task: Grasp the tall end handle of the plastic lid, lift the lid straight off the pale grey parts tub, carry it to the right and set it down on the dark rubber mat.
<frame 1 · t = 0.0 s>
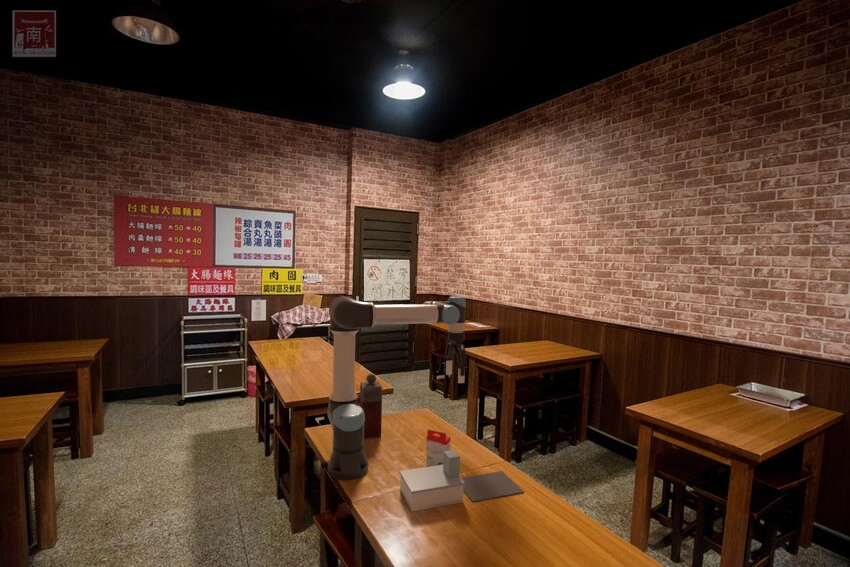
hand: (454, 378, 186), 28 cm above the table, fingers open, 13 cm apart
mat: (488, 486, 150), on the table
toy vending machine: (369, 433, 193), on the table
lid: (431, 479, 142), point 6 cm above the table, touching tub
ink box: (437, 466, 164), on the table
tub: (430, 496, 142), on the table
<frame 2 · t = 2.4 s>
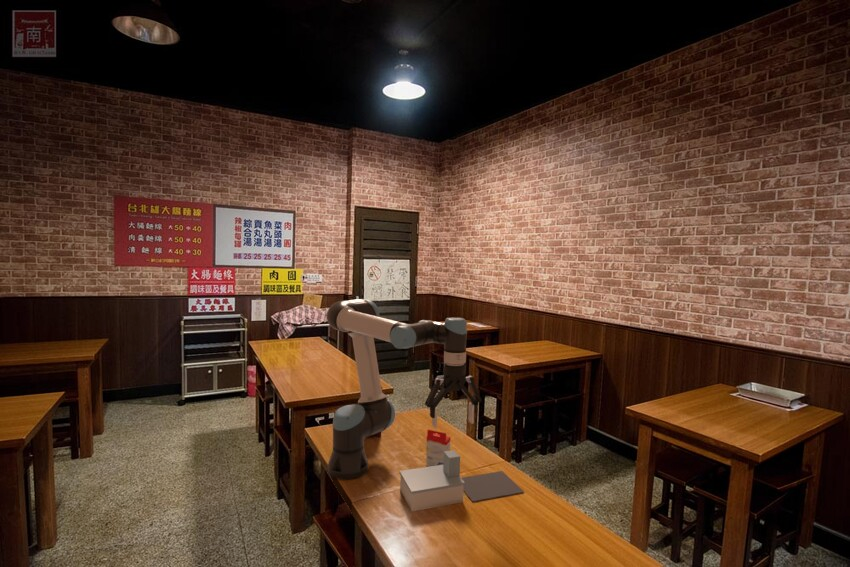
hand: (453, 424, 143), 24 cm above the table, fingers open, 13 cm apart
nothing on the table moved.
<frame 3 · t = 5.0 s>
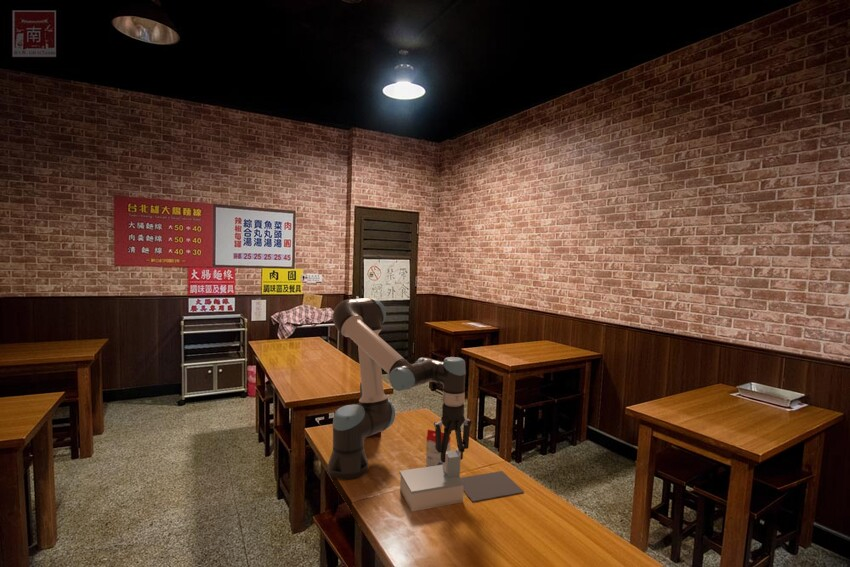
hand: (451, 469, 144), 8 cm above the table, fingers closed on lid, 4 cm apart
lid: (431, 478, 142), point 6 cm above the table, touching gripper, tub
everything else where it was.
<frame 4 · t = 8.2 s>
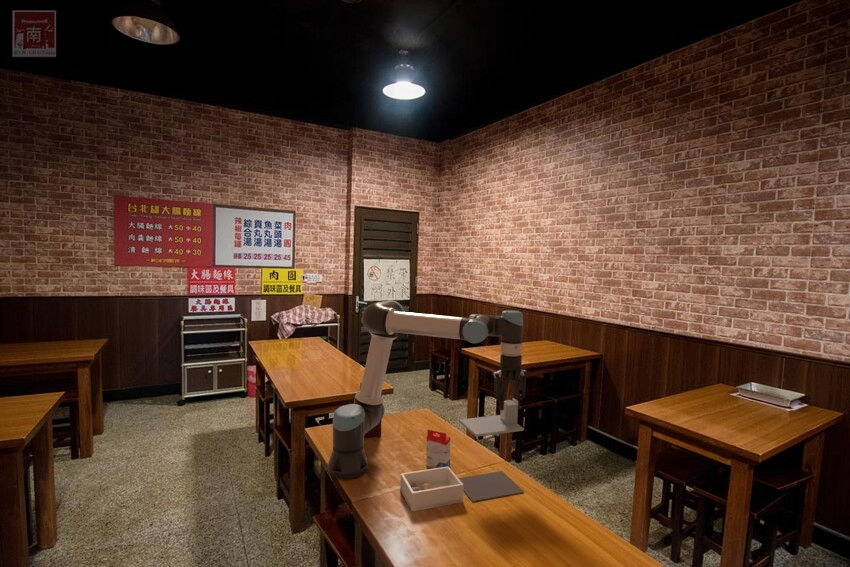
hand: (508, 417, 151), 24 cm above the table, fingers closed on lid, 4 cm apart
lid: (490, 426, 148), point 22 cm above the table, touching gripper
everything else where it was.
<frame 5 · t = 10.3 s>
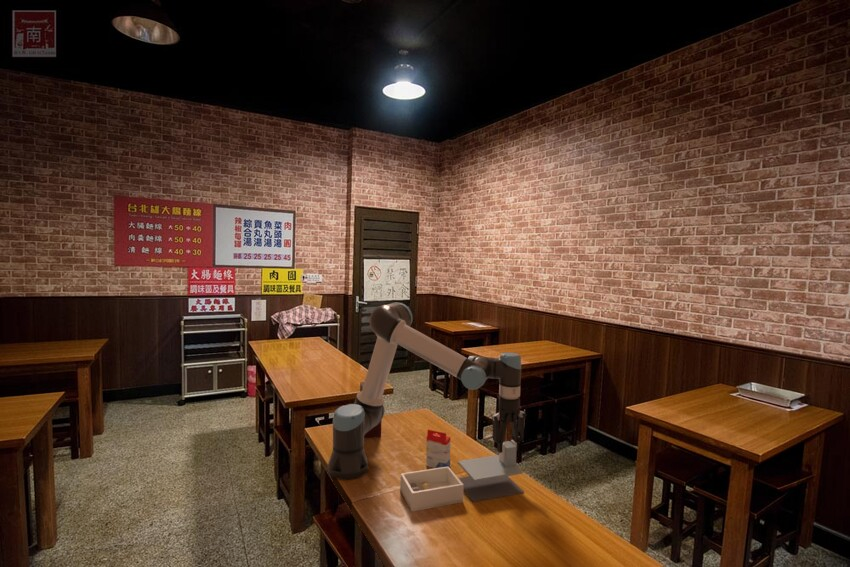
hand: (507, 459, 152), 9 cm above the table, fingers closed on lid, 4 cm apart
lid: (489, 468, 149), point 7 cm above the table, touching gripper
everything else where it was.
when the fingers open (5 cm above the table, at t = 11.7 s): lid drops 1 cm, resting on mat.
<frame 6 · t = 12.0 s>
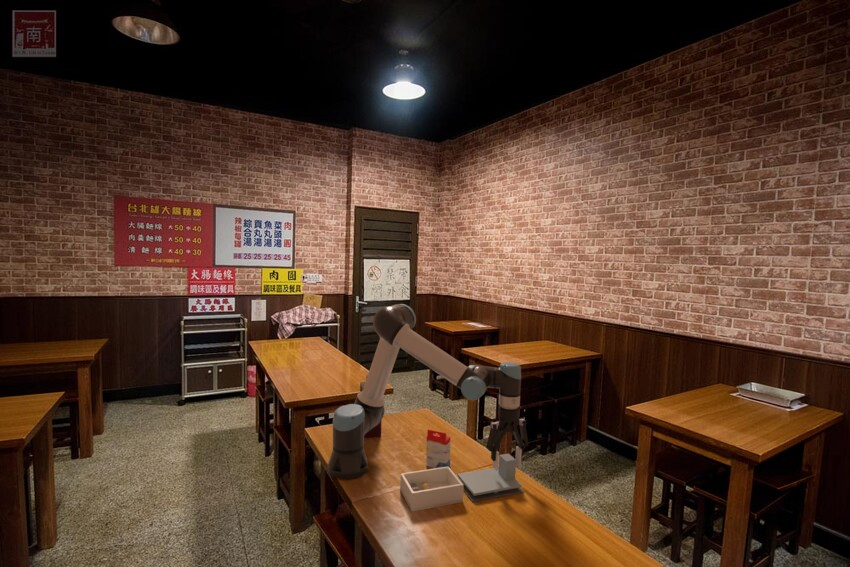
hand: (506, 466, 152), 6 cm above the table, fingers open, 9 cm apart
lid: (488, 481, 150), point 2 cm above the table, touching mat
everything else where it was.
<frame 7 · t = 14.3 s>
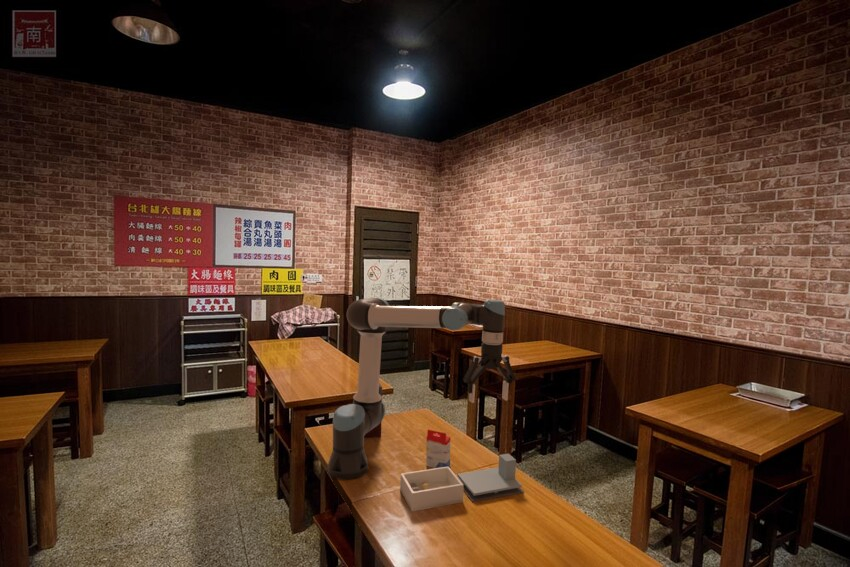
hand: (488, 400, 152), 30 cm above the table, fingers open, 13 cm apart
nothing on the table moved.
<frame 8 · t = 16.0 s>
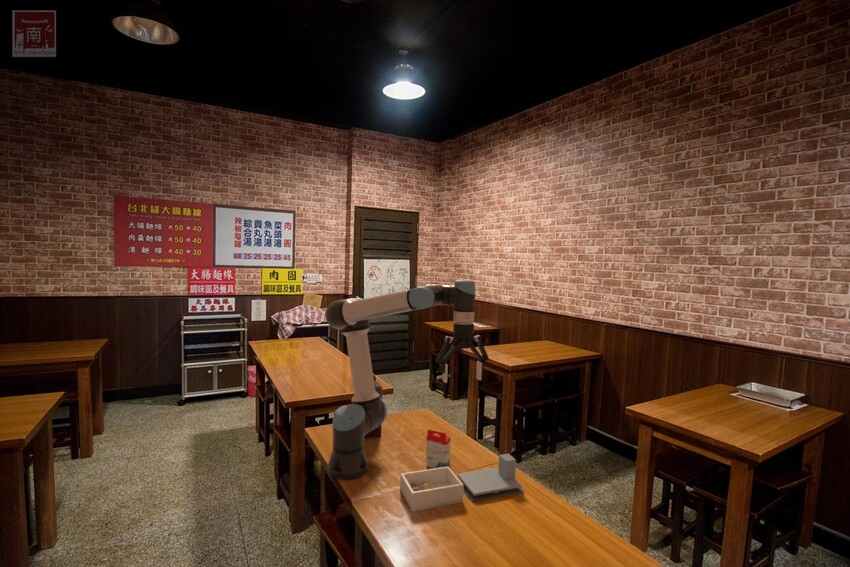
hand: (461, 380, 153), 37 cm above the table, fingers open, 13 cm apart
nothing on the table moved.
at the end: lid inside the target area on the mat (0.1 cm from its centre), point 1.8 cm above the mat's base; lid tilted 0°; lid touching mat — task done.
